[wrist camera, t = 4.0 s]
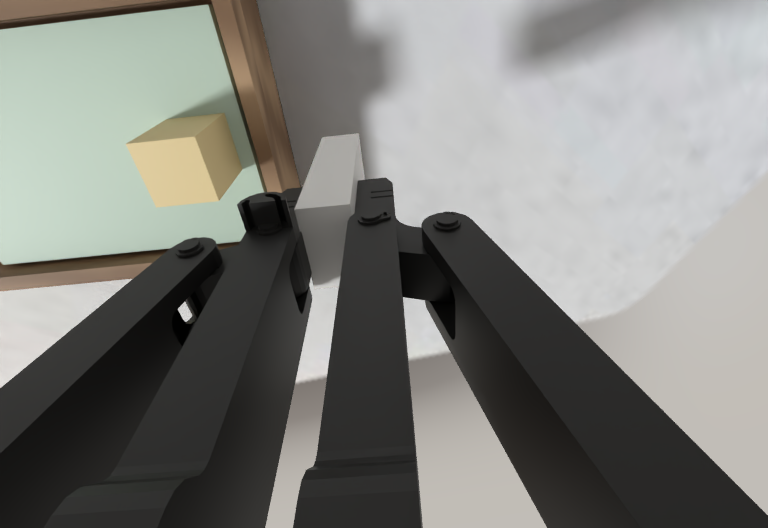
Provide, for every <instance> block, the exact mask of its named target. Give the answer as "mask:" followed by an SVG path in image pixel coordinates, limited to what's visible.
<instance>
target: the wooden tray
mask: <svg viewBox="0 0 768 528" xmlns="http://www.w3.org/2000/svg"><path fill="white" fill-rule="evenodd" d="M208 4H213V7H214V11H215V14H216V18H217V21H218V24H219V28H220V31H221V35H222V38H223V42H224V45H225V48H226V52H227V55H228V59H229V62H230V66H231V69H232V72H233V76H234V79H235V83H236V86H237V89H238V93H239V96H240V100H241V103H242V107H243V110H244V113H245V117H246V120H247V124H248V127H249V130H250V134H251V137H252V141H253V144H254V148H255V151H256V154H257V158H258V161H259V165H260V168H261V171H262V175H263V178H264V182H265V185H266V189H267V192H279V193H282V192H283V191H285V190H286V189H290V188H300V183H299V179H298V174H297V170H296V166H295V162H294V157H293V153H292V149H291V145H290V141H289V136H288V132H287V128H286V124H285V120H284V115H283V111H282V107H281V103H280V99H279V94H278V90H277V86H276V82H275V78H274V73H273V69H272V65H271V61H270V57H269V52H268V48H267V44H266V40H265V35H264V31H263V27H262V23H261V19H260V14H259V10H258V6H257V2H256V0H0V30H1V29H9V28H18V27H26V26H34V25H43V24H51V23H59V22H67V21H76V20H84V19H92V18H100V17H109V16H117V15H125V14H134V13H142V12H150V11H158V10H167V9H175V8H183V7H192V6H200V5H208ZM240 242H241V241H240ZM240 242H230V243H220V244H217V246H218V249H219V250H221V249H225V248H228V247H232V246H236V245H239V243H240ZM168 250H169V249H160V250H149V251H139V252H129V253H119V254H109V255H99V256H89V257H79V258H69V259H59V260H49V261H39V262H28V263H18V264H8V265H3V264H2V263H1V262H0V291H8V290H19V289H29V288H39V287H50V286H60V285H70V284H81V283H91V282H102V281H112V280H122V279H133V278H135V277H136V276H137V275H139V274H140V273H141V272H142V271H143V270H145V269H146V268H147V267H148V266H150V265H151V264H152V263H153V262H154V261H156V260H157V259H158V258H159V257H160V256H162V255H163V254H164V253H165V252H167V251H168Z"/></svg>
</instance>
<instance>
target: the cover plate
mask: <svg viewBox="0 0 768 528" xmlns="http://www.w3.org/2000/svg"><path fill="white" fill-rule="evenodd" d="M264 192H267V189H266V185H265V182H264V178H263V175H262V171H261V168H260V165H259V161H258V158H257V154H256V151H255V148H254V144H253V141H252V137H251V134H250V130H249V127H248V124H247V120H246V117H245V113H244V110H243V107H242V103H241V100H240V96H239V93H238V89H237V86H236V83H235V79H234V76H233V72H232V69H231V66H230V62H229V59H228V55H227V52H226V48H225V45H224V42H223V38H222V35H221V31H220V28H219V24H218V21H217V18H216V14H215V11H214V7H213V4H208V5H200V6H192V7H183V8H175V9H167V10H158V11H150V12H142V13H134V14H125V15H117V16H109V17H100V18H92V19H84V20H76V21H67V22H59V23H51V24H43V25H34V26H26V27H18V28H9V29H1V30H0V262H1V263H2V264H3V265H8V264H18V263H28V262H39V261H49V260H59V259H69V258H79V257H89V256H99V255H109V254H119V253H129V252H139V251H149V250H160V249H170V248H172V247H173V246H175V245H177V244H179V243H181V242H183V241H184V240H186V239H191V238H195V237H197V238H201V237H207V238H212V239H213V240H214V241H216V244H220V243H230V242H240V241H241V240H242V238H243V236H244V234H245V232H246V230H245V227H244V224H243V221H242V218H241V215H240V212H239V210H238V207H237V204H238V203H239V202H240V201H241V200H243V199H245V198H247V197H249V196H252V195H255V194H258V193H264Z"/></svg>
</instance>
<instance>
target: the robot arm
mask: <svg viewBox="0 0 768 528" xmlns="http://www.w3.org/2000/svg"><path fill="white" fill-rule="evenodd" d="M237 207H238V210H239V212H240V215H241V218H242V221H243V224H244V227H245V230H246V232H245V234H244V236H243V238H242V240H241V242H240V243H239V245H236V246H232V247H228V248H225V249H221V250H219V249H218V246H217V244H216V241H214V240H213V239H212V238H207V237H201V238H197V237H195V238H191V239H186V240H184V241H183V242H181V243H179V244H177V245H175V246H173V247H172V248H170V249H169V250H168V251H167V252H165V253H164V254H163V255H162V256H160V257H159V258H158V259H157V260H156V261H154V262H153V263H152V264H151V265H150V266H148V267H147V268H146V269H145V270H143V271H142V272H141V273H140V274H139V275H137V276H136V277H135V278H134V279H133V280H131V281H130V282H129V283H128V284H126V285H125V286H124V287H123V288H122V289H120V290H119V291H118V292H117V293H116V294H114V295H113V296H112V297H111V298H109V299H108V300H107V301H106V302H105V303H103V304H102V305H101V306H100V307H99V308H97V309H96V310H95V311H94V312H92V313H91V314H90V315H89V316H88V317H86V318H85V319H84V320H83V321H82V322H80V323H79V324H78V325H77V326H75V327H74V328H73V329H72V330H71V331H69V332H68V333H67V334H66V335H65V336H63V337H62V338H61V339H60V340H58V341H57V342H56V343H55V344H54V345H52V346H51V347H50V348H49V349H48V350H46V351H45V352H44V353H43V354H41V355H40V356H39V357H38V358H37V359H35V360H34V361H33V362H32V363H31V364H29V365H28V366H27V367H26V368H24V369H23V370H22V371H21V372H20V373H18V374H17V375H16V376H15V377H14V378H12V379H11V380H10V381H9V382H8V383H6V384H5V385H4V386H3V387H1V388H0V528H265V525H266V521H267V516H268V511H269V506H270V501H271V496H272V492H273V487H274V482H275V477H276V472H277V467H278V463H279V458H280V453H281V448H282V443H283V438H284V434H285V429H286V424H287V419H288V414H289V409H290V405H291V400H292V395H293V390H294V385H295V380H296V375H297V371H298V366H299V361H300V356H301V351H302V346H303V342H304V337H305V332H306V327H307V322H308V317H309V313H310V308H311V303H312V295H311V291H310V287H309V283H310V278H311V277H312V281H313V285H314V289H326V288H337V287H339V291H338V298H337V306H336V314H335V321H334V329H333V336H332V344H331V352H330V359H329V367H328V374H327V382H326V390H325V398H324V405H323V412H322V420H321V428H320V435H319V443H318V451H317V456H316V461H315V464H314V466H313V467H311V468H309V469H307V470H306V472H305V474H304V476H303V479H302V482H301V486H300V490H299V495H298V501H297V507H296V513H295V520H294V525H293V528H423V527H422V514H421V503H420V491H419V480H418V468H417V457H416V445H415V433H414V422H413V413H412V412H413V410H412V399H411V387H410V376H409V365H408V353H407V341H406V329H405V318H404V306H403V297H407V298H414V299H421V300H425V303H426V307H427V310H428V311H429V313H430V315H431V317H432V319H433V320H434V322H435V324H436V326H437V328H438V330H439V331H440V333H441V335H442V337H443V339H444V340H445V342H446V344H447V346H448V348H449V350H450V351H451V353H452V355H453V357H454V359H455V360H456V362H457V364H458V366H459V368H460V370H461V371H462V373H463V375H464V377H465V378H466V381H467V382H468V384H469V386H470V388H471V390H472V391H473V393H474V395H475V397H476V399H477V401H478V402H479V404H480V406H481V408H482V410H483V412H484V413H485V415H486V417H487V419H488V421H489V422H490V424H491V426H492V428H493V430H494V431H495V433H496V435H497V437H498V438H499V441H500V442H501V444H502V446H503V448H504V449H505V452H506V453H507V455H508V457H509V459H510V461H511V463H512V464H513V466H514V468H515V470H516V472H517V473H518V475H519V477H520V479H521V481H522V482H523V484H524V486H525V488H526V490H527V492H528V493H529V495H530V497H531V499H532V501H533V503H534V504H535V506H536V508H537V510H538V512H539V513H540V515H541V517H542V519H543V521H544V523H545V524H546V526H547V528H768V515H766V513H765V512H764V511H763V510H762V509H760V508H759V506H758V505H757V504H755V502H754V501H753V500H752V499H751V498H750V497H749V496H748V495H746V493H745V492H744V491H743V490H742V489H741V488H740V487H739V486H738V485H737V484H735V482H734V481H733V480H732V479H731V478H730V477H728V475H727V474H726V473H725V472H724V471H722V469H721V468H720V467H719V466H718V465H717V464H715V462H714V461H713V460H712V459H710V457H709V456H708V455H707V454H706V453H705V452H704V451H703V450H702V449H701V448H700V447H699V446H698V445H697V444H696V443H695V442H693V440H692V439H691V438H690V437H689V436H688V435H687V434H685V432H684V431H683V430H682V429H680V428H679V426H678V425H676V424H675V422H674V421H673V420H672V419H671V418H669V416H668V415H667V414H666V413H664V411H663V410H662V409H661V408H660V407H659V406H658V405H657V404H656V403H655V402H653V401H652V399H651V398H650V397H648V395H647V394H646V393H645V392H643V390H642V389H641V388H640V387H639V386H638V385H637V384H635V382H634V381H633V380H632V379H631V378H630V377H629V376H628V375H627V374H625V373H624V371H622V369H621V368H620V367H619V366H618V365H617V364H616V363H615V362H614V361H613V360H612V359H611V358H610V357H609V356H608V355H607V354H606V353H605V352H604V351H603V350H602V349H601V348H600V347H599V346H598V345H596V343H595V342H593V340H592V339H591V338H590V337H589V336H588V335H586V333H584V331H583V330H582V329H581V328H580V327H579V326H578V325H577V324H576V323H575V322H574V321H573V320H572V319H571V318H570V317H569V316H568V315H567V314H566V313H565V312H564V311H563V310H562V309H561V308H560V307H559V306H558V305H557V304H556V303H555V302H554V301H553V300H552V299H551V298H550V297H549V296H548V295H547V294H546V293H545V292H544V291H543V290H542V289H541V288H540V287H539V286H538V285H537V284H536V283H535V282H534V281H533V280H532V279H531V278H530V277H529V276H528V275H527V274H526V273H525V272H524V271H523V270H522V269H521V268H520V267H519V266H518V265H517V264H516V263H515V262H514V261H513V260H512V259H511V258H510V257H509V256H508V255H507V254H506V253H505V252H504V251H503V250H502V249H501V248H500V247H499V246H498V245H497V244H496V243H495V242H494V241H493V240H492V239H491V238H490V237H489V236H488V235H487V234H486V233H485V232H484V231H483V230H482V229H481V228H480V227H479V226H478V225H477V224H476V223H475V222H474V221H473V220H472V219H470V218H469V217H467V216H466V215H463V214H459V213H456V212H443V213H437V214H434V215H431V216H429V217H428V218H426V219H425V220H424V221H423V223H422V228H420V227H412V226H407V225H404V224H402V223H400V222H399V221H398V220H397V219H396V216H395V207H394V196H393V185H392V182H391V181H389V180H388V179H387V178H378V179H368V180H365V176H364V168H363V161H362V153H361V146H360V138H359V133H356V134H347V135H337V136H328V137H322V139H321V142H320V144H319V147H318V149H317V152H316V155H315V157H314V160H313V162H312V165H311V168H310V170H309V173H308V175H307V178H306V181H305V183H304V186H303V187H300V188H290V189H286V190H285V191H283V192H282V193H279V192H264V193H258V194H255V195H252V196H249V197H247V198H245V199H243V200H241V201H240V202H239V203H238V204H237ZM184 302H186V304H187V306H188V307H189V309H190V311H191V313H192V315H193V316H192V317H191V318H190V320H188V321H187V322H185V321H184V320H183V319H182V317H181V315H180V313H179V311H178V308H179V307H180V306H181V305H182V304H183V303H184Z"/></svg>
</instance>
